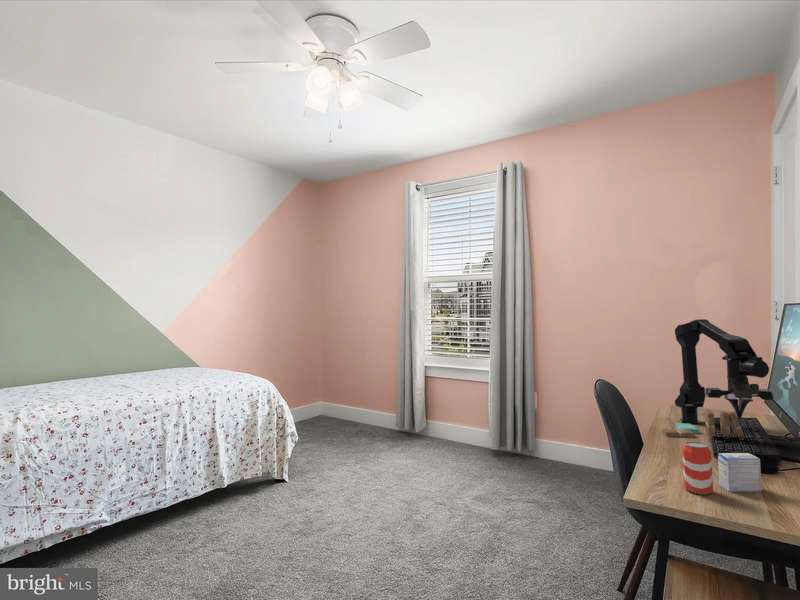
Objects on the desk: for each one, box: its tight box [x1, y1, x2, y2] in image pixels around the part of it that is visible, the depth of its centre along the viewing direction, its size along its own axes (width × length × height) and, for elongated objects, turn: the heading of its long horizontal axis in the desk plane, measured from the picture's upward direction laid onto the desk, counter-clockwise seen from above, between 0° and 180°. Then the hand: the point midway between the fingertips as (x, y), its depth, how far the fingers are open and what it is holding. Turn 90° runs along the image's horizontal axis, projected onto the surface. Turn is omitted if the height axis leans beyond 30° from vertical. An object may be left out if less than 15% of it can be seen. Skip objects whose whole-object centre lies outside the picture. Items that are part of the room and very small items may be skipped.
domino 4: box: [726, 411, 745, 437], centre depth 163 cm, size 2×5×9 cm, turn 156°
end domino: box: [675, 422, 700, 435], centre depth 176 cm, size 2×5×9 cm
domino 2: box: [704, 410, 716, 440], centre depth 166 cm, size 2×5×9 cm, turn 156°
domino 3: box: [719, 410, 731, 436], centre depth 164 cm, size 2×5×9 cm, turn 156°
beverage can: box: [681, 440, 714, 495], centre depth 119 cm, size 6×6×12 cm
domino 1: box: [661, 428, 695, 439], centre depth 169 cm, size 2×5×9 cm
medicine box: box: [717, 452, 762, 492], centre depth 119 cm, size 8×4×9 cm, turn 84°
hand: (739, 418), depth 162 cm, fingers closed
